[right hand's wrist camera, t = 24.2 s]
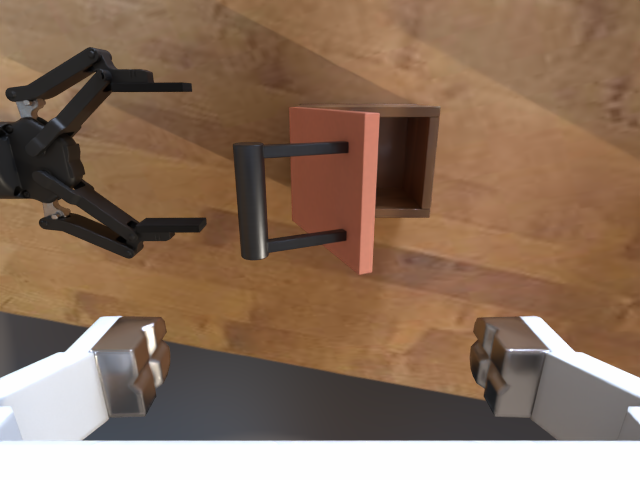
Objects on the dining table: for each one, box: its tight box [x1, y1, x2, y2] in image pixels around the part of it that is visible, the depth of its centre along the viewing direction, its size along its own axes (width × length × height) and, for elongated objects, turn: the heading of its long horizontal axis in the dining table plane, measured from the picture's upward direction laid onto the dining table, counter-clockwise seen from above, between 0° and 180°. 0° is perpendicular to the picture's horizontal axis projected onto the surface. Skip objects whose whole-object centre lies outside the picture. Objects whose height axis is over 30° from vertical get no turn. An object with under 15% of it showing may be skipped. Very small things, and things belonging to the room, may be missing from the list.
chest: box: [296, 104, 440, 218], centre depth 41 cm, size 13×10×10 cm
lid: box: [233, 107, 380, 275], centre depth 29 cm, size 13×10×8 cm
